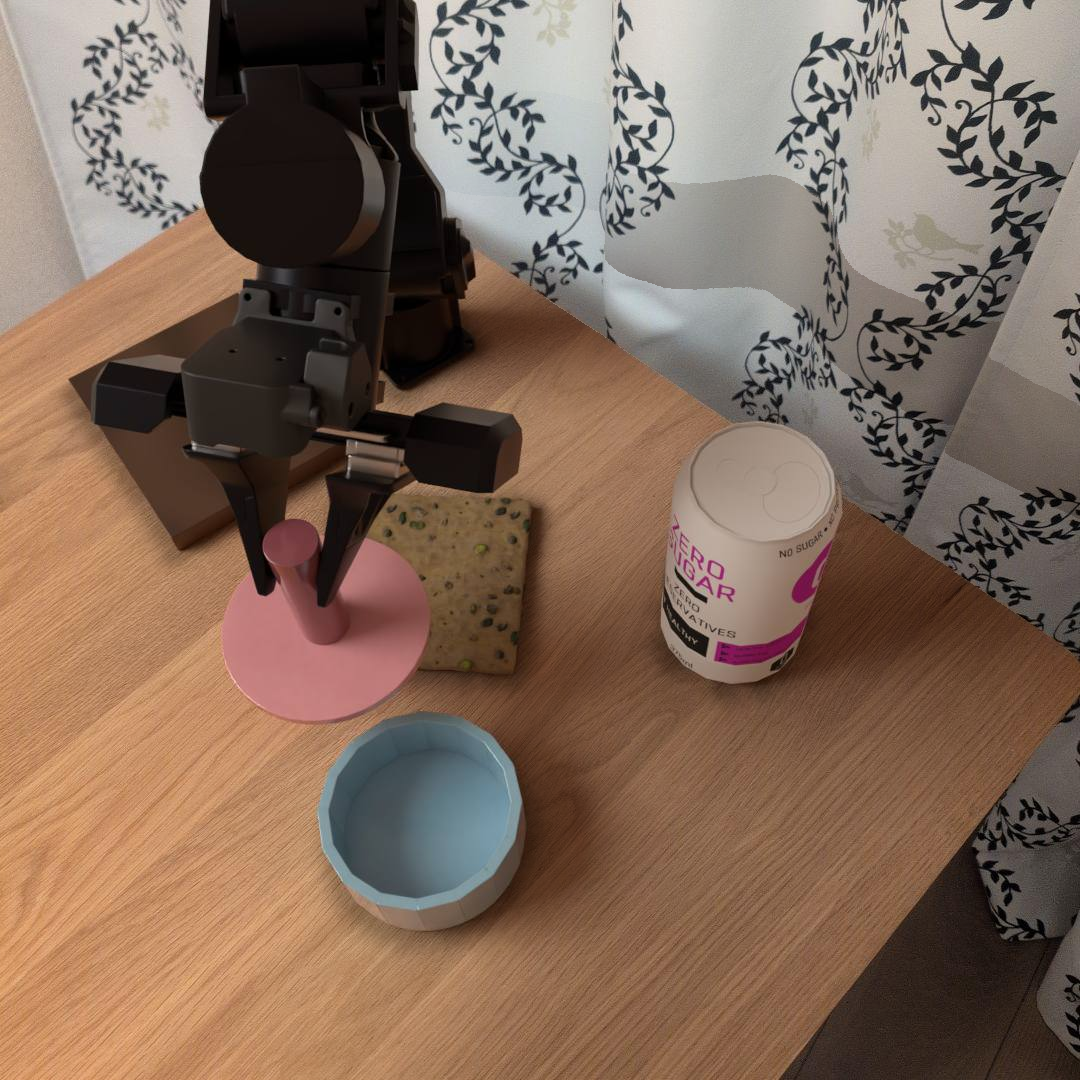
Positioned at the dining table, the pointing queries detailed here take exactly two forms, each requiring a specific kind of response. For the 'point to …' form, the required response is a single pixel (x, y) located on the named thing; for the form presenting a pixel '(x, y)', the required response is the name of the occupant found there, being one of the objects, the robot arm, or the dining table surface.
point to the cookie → (464, 574)
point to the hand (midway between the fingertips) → (294, 599)
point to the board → (185, 440)
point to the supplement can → (746, 549)
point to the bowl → (423, 820)
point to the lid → (325, 631)
